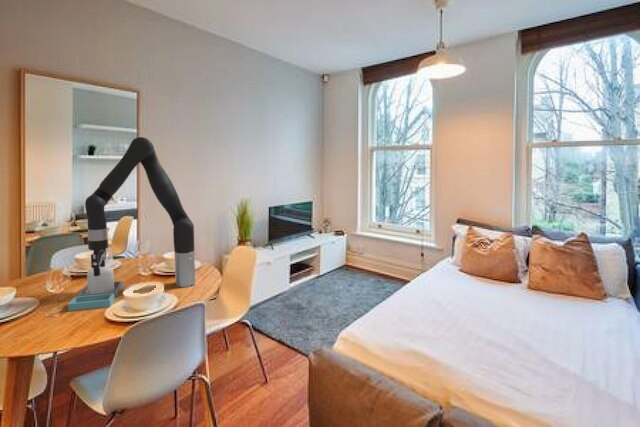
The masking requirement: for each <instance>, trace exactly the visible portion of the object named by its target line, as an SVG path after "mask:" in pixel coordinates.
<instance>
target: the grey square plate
mask: <svg viewBox="0 0 640 427" xmlns="http://www.w3.org/2000/svg"><path fill="white" fill-rule="evenodd" d="M123 287H124V281H123V280H119V281H118V280H116V281H115V280H114V288H115V289H114V292H103V293H92V294H88V284H87V283H86V285H84V287H83V288H82V289H81V290H80V291H79V292H78V293H77V294H76V297H78V296H89V295H100V294H111V293H114V297H115V298H117V297H118V295H119V294H120V292H121V290H122V289H123Z"/></svg>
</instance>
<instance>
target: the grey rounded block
mask: <svg viewBox="0 0 640 427" xmlns="http://www.w3.org/2000/svg"><path fill="white" fill-rule="evenodd" d="M114 275H115V274H114V269H113V267H111V266H105V267H100V275H99V276H94V268H91V269H88V270H87V273H86V280H87V281H86V285H87V284H88V291H87V294H92V293H103V292H114V291H115V287H114V282H115V276H114Z"/></svg>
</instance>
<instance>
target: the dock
mask: <svg viewBox="0 0 640 427" xmlns="http://www.w3.org/2000/svg"><path fill="white" fill-rule="evenodd" d="M115 299H116V297H114V293H111V294H100V295H89V296H78V297H77V296H74V297H73V298H72V299H71V300H70V302H68V304H67V308H68V312H73V311H74V312H75V311H82V310H93V309H103V308H110V307H111V306H112V305H113V304H114V302H115Z"/></svg>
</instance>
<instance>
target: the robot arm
mask: <svg viewBox="0 0 640 427" xmlns="http://www.w3.org/2000/svg"><path fill="white" fill-rule="evenodd" d="M138 164H141V165H142V167H143V169H144V171H145V173H146V177H147V180H148V182H149V185H150V188H151V189H152V192H153V193H154V195H155V197H156V199H157V200H158V202H159V203H160V205H161V206H162V208H164V210H165V212H167V214H168V215H169V217H170V220H171V222H172V225H173V229H172V230H173V234H172V235H173V248H174V251H173V252H174V275H175V276H174V278H175V286H176V287H178V288H187V287H191V285H192V286H196V263H195V258H196V257H195V230H194V229H195V226H194V225H195V224H194V223H193V222H192V220H191V219H190V217H189V216H188V214H187V212H186V210H185V209H184V207H183V205H182V203H181V199H180V197H179V195H178V192H177V191H176V188H175V186H174V184H173V182H172V180H171V179H170V177H169V174H168V173H167V172H166V170H165V169H164V168H163V166H162V164H161V163H160V160H159V158H158V156H157V153H156V151H155V148H154V145H153V142H151V140H150V139H148V138H146V137H142V136H139V137H135V138H133V139H132V141H131V142H130V145H129V146H128V148H127V150H126V152H125V153H124V154H123V156H122V158H121V159H120V160H119V161H118V163H117V164H116V165H115V166H114V167H113V168H112V169H111V170H110V171H109V173H108V174H107V175H106V176H105V178H103V180H102V181H101V182H100V183H99V186H98V187H97V189H95V191H94V192H93V193H92V194H91V195H89V196H88V197H87V198H86V199H85V202H84V203H85V204H84V205H85V212H86V216H87V245H88V246H87V249H88V250H90V251H93V253H91V255H90V264H91V266H90V267H91V269H93V268H94V276H99V275H100V267H106V260H107V249H108V248H109V234H108V228H107V218H106V216H105V206H107V204H108V202H110V200H111V199H112V197H113V196H114V195H115V194H116V193H117V192H118V191H119V190H120V188H121V187H122V186H123V184H124V183H125V182H126V180H127V179H128V178H129V177H130V175H131V174H132V172H133V170H134V169H135V168H136V167H137V165H138Z"/></svg>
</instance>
